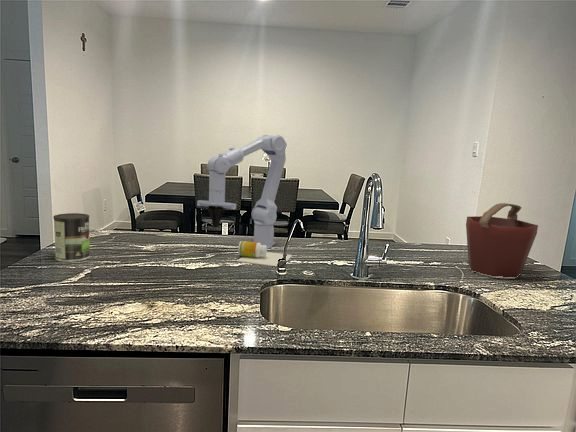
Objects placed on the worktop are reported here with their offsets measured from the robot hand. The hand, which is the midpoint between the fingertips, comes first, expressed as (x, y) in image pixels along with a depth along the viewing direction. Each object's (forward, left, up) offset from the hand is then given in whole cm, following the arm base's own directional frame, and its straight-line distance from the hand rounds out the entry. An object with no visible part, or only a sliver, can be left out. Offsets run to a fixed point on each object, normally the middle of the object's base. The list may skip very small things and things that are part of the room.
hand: (216, 226), depth 153 cm
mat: (+1, +20, -9) cm, 22 cm away
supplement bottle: (+3, +10, -6) cm, 12 cm away
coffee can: (+28, -38, -10) cm, 48 cm away
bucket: (-18, +100, -10) cm, 102 cm away
